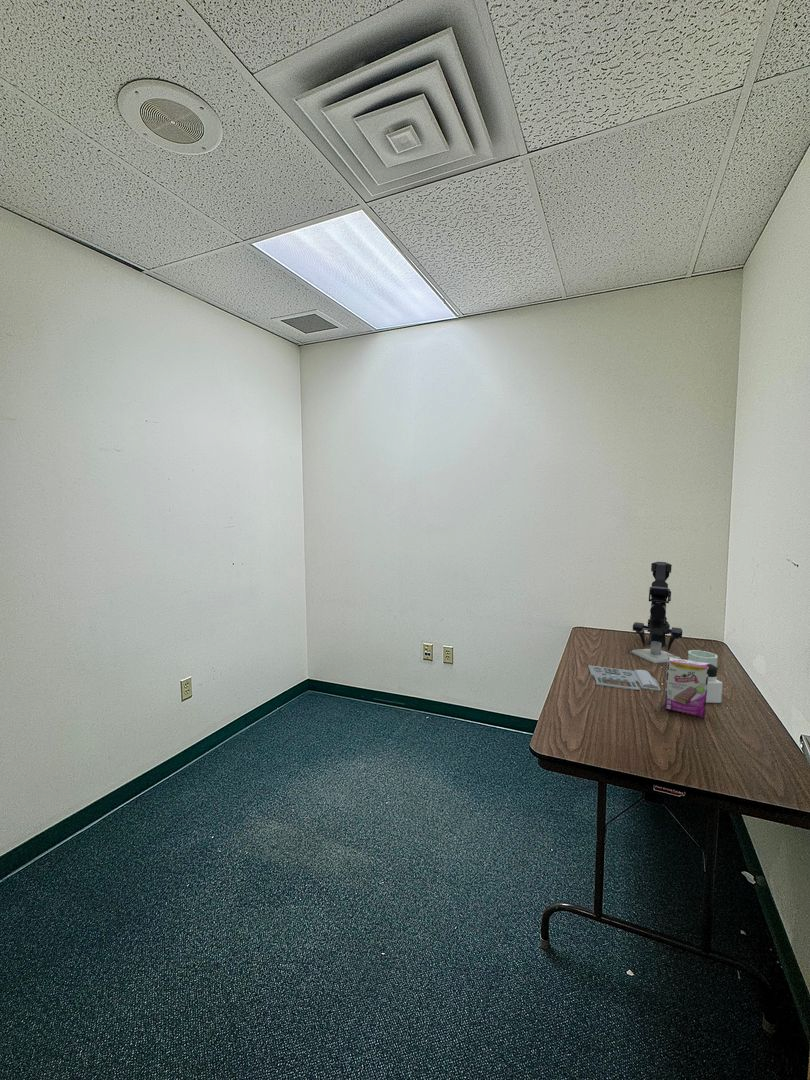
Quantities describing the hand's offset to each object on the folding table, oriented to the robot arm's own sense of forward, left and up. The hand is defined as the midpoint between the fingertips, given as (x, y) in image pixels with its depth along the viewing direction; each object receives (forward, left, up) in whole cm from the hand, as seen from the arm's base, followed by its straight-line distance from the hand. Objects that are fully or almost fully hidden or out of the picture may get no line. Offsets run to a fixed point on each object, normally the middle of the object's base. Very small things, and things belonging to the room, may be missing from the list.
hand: (656, 648), depth 196 cm
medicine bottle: (+40, -16, -4) cm, 43 cm away
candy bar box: (+47, -31, -4) cm, 56 cm away
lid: (0, 0, -3) cm, 3 cm away
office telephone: (+20, -32, -4) cm, 38 cm away
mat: (0, 0, -4) cm, 4 cm away
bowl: (+13, +11, -4) cm, 17 cm away
